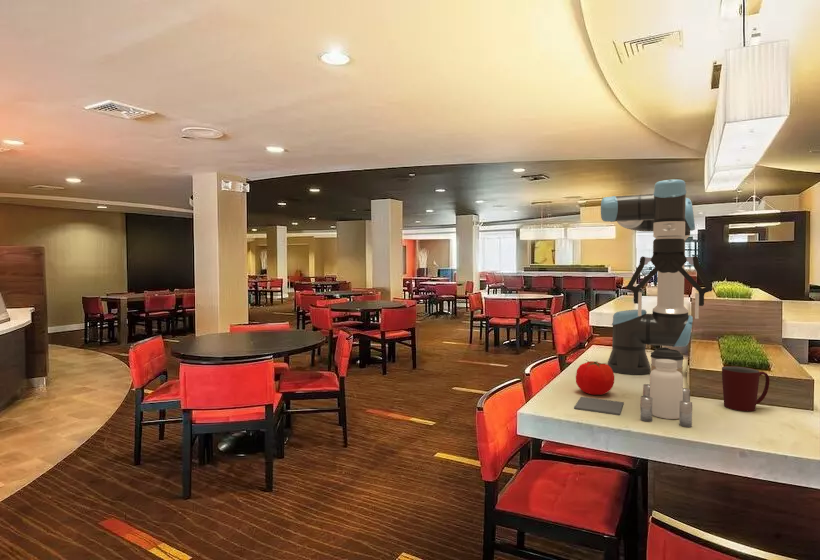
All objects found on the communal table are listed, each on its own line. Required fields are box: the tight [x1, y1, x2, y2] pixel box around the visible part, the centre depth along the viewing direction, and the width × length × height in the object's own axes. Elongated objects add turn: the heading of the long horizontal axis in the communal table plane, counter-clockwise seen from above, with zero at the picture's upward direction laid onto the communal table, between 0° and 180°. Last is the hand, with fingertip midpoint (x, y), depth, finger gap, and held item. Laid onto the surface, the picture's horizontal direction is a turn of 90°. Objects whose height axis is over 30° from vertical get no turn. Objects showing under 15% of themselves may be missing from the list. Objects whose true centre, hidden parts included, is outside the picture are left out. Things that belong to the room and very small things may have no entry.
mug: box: [721, 365, 770, 412], centre depth 137 cm, size 12×9×11 cm
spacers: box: [639, 383, 693, 428], centre depth 131 cm, size 17×12×6 cm
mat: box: [573, 396, 625, 416], centre depth 139 cm, size 12×12×1 cm
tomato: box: [575, 359, 615, 396], centre depth 152 cm, size 12×12×10 cm
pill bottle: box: [649, 359, 684, 420], centre depth 130 cm, size 8×8×15 cm
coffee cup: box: [650, 346, 684, 375], centre depth 147 cm, size 9×9×15 cm
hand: (667, 317), depth 130 cm, fingers open, 13 cm apart
